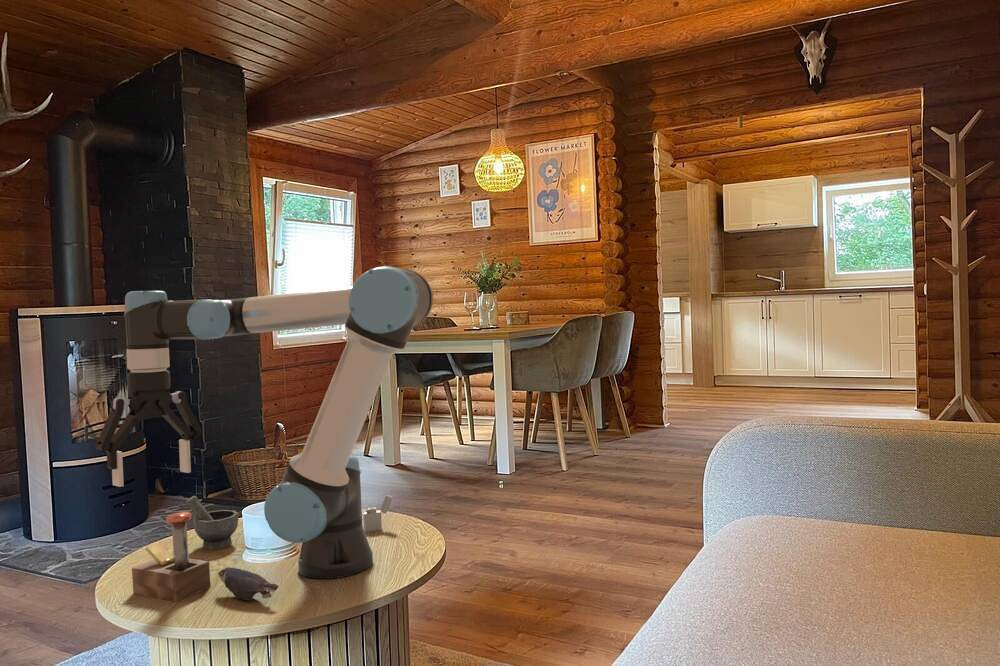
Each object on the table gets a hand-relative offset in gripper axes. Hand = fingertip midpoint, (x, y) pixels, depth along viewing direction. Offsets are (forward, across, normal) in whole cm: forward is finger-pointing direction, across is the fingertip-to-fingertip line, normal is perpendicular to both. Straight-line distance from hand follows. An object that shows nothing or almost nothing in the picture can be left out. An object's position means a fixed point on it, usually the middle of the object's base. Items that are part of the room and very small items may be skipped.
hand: (153, 478), depth 149 cm
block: (+22, -1, +4) cm, 22 cm away
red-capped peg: (+22, -2, +6) cm, 23 cm away
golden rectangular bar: (+15, 0, +1) cm, 15 cm away
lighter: (+21, -50, +10) cm, 55 cm away
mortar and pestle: (+22, -22, -15) cm, 35 cm away
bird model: (+22, -6, +20) cm, 30 cm away
